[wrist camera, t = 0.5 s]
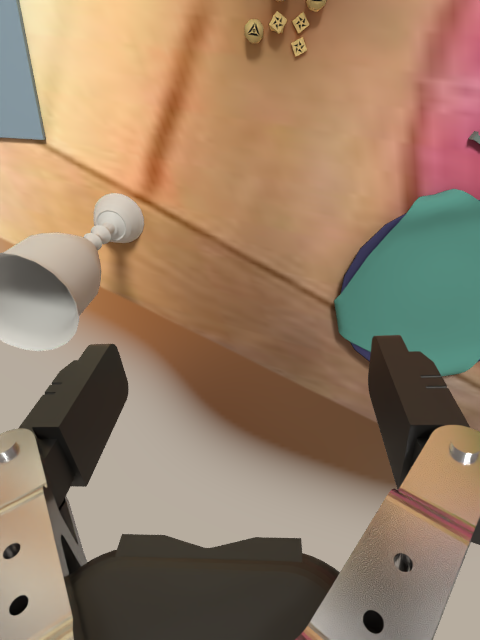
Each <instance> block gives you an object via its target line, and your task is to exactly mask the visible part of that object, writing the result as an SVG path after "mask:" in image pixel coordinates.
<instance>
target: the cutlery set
mask: <svg viewBox="0 0 480 640" xmlns="http://www.w3.org/2000/svg"><path fill="white" fill-rule="evenodd" d="M468 139H471V140H474V141H476V142H477V143H479V144H480V136H479V135H478V132H476V131H474V132H473V134H472V135H471V136H470V137H469V138H468ZM334 304H335V310H336V317H337V323H338V330H339V333H340V334H341V335H342V336H343V337H344V338H345V339H347V340H348V341H350V343H351V344H352V346H353V348H354V350H356V351H357V352H358V353H359V354H361V355H362V356H363V357H364V358H366V359H367V360H368V361H370V354H371V344H372V338H373V336H383V335H400V336H401V337H402V339H403V341H404V343H405V345H406V347H407V349H408V351H409V352H412V351H420V352H422V353H423V354H424V355H425V356H427V357H428V358H429V359H430V360H432V361H433V362H434V364H435V365H436V367H437V369H438V371H439V373H440V374H441V376H448V375H454V374H459V373H462V372H465V371H467V370H468V369H470V368H471V367H472V366H473V365H474V364H475V363H476V362H478V361H480V200H477V199H476V198H474V197H473V196H471V195H470V194H468V193H466V192H464V191H461V190H457V189H451V190H447V191H444V192H441V193H438V194H434V195H428V196H422V197H419V198H418V199H417V200H416V201H415V203H414V204H413V205H412V207H411V208H410V210H409V211H408V212H407V213H405V214H404V215H402V216H400V217H398V218H396V219H394V220H393V221H391V222H389V223H387V224H385V225H384V226H383V227H382V228H381V229H380V230H379V231H378V232H377V233H376V234H375V235H374V236H373V237H372V238H371V239H370V240H369V241H367V242H366V243H365V244H364V245H363V246H362V247H361V248H360V250H359V251H358V253H357V255H356V256H355V258H354V260H353V262H352V263H351V265H350V267H349V269H348V270H347V272H346V274H345V275H344V280H343V284H342V289H341V294H340V295H339V296H338V297H337V298H336V299H335V300H334Z"/></svg>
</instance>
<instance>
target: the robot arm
mask: <svg viewBox="0 0 480 640" xmlns="http://www.w3.org/2000/svg"><path fill="white" fill-rule="evenodd" d="M368 386H369V394H370V398H371V401H372V405H373V408H374V411H375V415H376V418H377V421H378V425H379V428H380V432H381V435H382V438H383V442H384V445H385V448H386V452H387V455H388V458H389V462H390V465H391V468H392V472H393V475H394V479H395V482H396V485H397V489H398V490H396V489H392V490H391V491H390V492H389V494H388V495H387V497H386V498H385V500H384V501H383V503H382V505H381V506H380V508H379V510H378V511H377V513H376V515H375V516H374V518H373V519H372V521H371V523H370V524H369V526H368V528H367V529H366V531H365V532H364V534H363V536H362V537H361V539H360V541H359V542H358V544H357V546H356V547H355V549H354V551H353V552H352V554H351V555H350V557H349V559H348V560H347V562H346V564H345V565H344V567H343V569H342V570H341V572H339V571H337V570H336V569H335V568H333V567H332V566H330V565H328V564H327V563H325V562H323V561H321V560H319V559H317V558H315V557H312V556H309V555H306V554H303V553H302V547H301V546H302V545H301V538H259V537H255V538H251V539H247V540H242V541H239V542H235V543H230V544H226V545H222V546H218V547H214V548H203V547H200V546H197V545H194V544H190V543H187V542H184V541H181V540H178V539H175V538H172V537H168V536H165V535H133V534H122V536H121V539H120V542H119V545H118V548H117V550H114V551H111V552H108V553H105V554H103V555H101V556H99V557H96V558H94V559H92V560H91V561H89V562H87V560H86V557H85V555H84V552H83V548H82V545H81V542H80V538H79V535H78V531H77V528H76V524H75V521H74V518H73V515H72V511H71V508H70V504H69V501H68V499H67V497H66V494H67V492H68V490H69V488H70V486H87V484H88V482H89V480H90V478H91V476H92V474H93V471H94V469H95V467H96V465H97V463H98V460H99V458H100V456H101V454H102V452H103V449H104V448H105V445H106V443H107V441H108V439H109V437H110V434H111V432H112V430H113V428H114V426H115V424H116V422H117V419H118V417H119V415H120V413H121V411H122V408H123V406H124V403H125V402H126V400H127V396H128V381H127V378H126V374H125V371H124V368H123V365H122V362H121V358H120V355H119V352H118V349H117V347H116V346H115V345H114V344H96V345H95V344H94V345H89V346H88V347H87V348H86V350H85V351H84V352H83V354H82V356H81V357H80V358H79V360H75V361H73V362H71V363H70V364H69V365H68V366H66V367H65V368H64V369H62V370H61V371H60V372H59V374H58V375H57V376H56V378H55V379H54V380H53V382H52V385H50V386H49V387H48V389H47V390H46V391H45V395H43V396H42V397H41V398H40V400H39V401H38V402H37V404H36V405H35V406H34V408H33V409H32V410H31V412H30V413H29V415H28V416H27V417H26V419H25V420H24V422H23V423H22V424H21V425H20V427H19V428H18V429H13V430H9V431H6V432H3V433H1V434H0V640H433V638H434V635H435V633H436V630H437V628H438V625H439V622H440V620H441V617H442V615H443V612H444V609H445V607H446V604H447V601H448V599H449V597H450V594H451V591H452V589H453V586H454V584H455V581H456V579H457V576H458V573H459V571H460V568H461V566H462V563H463V560H464V558H465V555H466V553H467V550H468V548H469V545H470V543H471V542H473V543H476V544H479V545H480V432H479V431H476V430H474V429H472V428H470V426H469V425H468V423H467V421H466V419H465V417H464V416H463V414H462V412H461V410H460V408H459V407H458V405H457V403H456V401H455V399H454V398H453V396H452V394H451V392H450V390H449V389H448V388H447V385H446V383H445V381H444V380H443V378H442V377H441V374H440V373H439V371H438V369H437V367H436V365H435V364H434V362H433V361H432V360H430V359H429V358H428V357H427V356H425V355H424V354H423V353H422V352H420V351H412V352H409V351H408V349H407V347H406V345H405V343H404V341H403V339H402V337H401V336H400V335H383V336H373V338H372V344H371V354H370V364H369V374H368Z"/></svg>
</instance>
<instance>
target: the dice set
mask: <svg viewBox="0 0 480 640" xmlns="http://www.w3.org/2000/svg"><path fill="white" fill-rule="evenodd" d="M276 1H284V0H276ZM306 4H307V6H308V8H309V10H310V11H314V12H318V11H319V10H320V9H321V8H322V7H324V5H325V4H326V0H306ZM286 22H287V19H286V17H283V16H282V15H281V14H280V13H279V12H278V11H277V12H276V13H275V15H273V18H272V20H271V22H270V23H269V26H270V27H271V30H270V31H275V32H277V33H278V34H280V33H283V28H284V26H285V24H286ZM292 23H293V25H294V27H295V28H296V30H297V32H298V34H299V33H300V32H302V31H303V30H304V29H305V28H306V27H308V26H309V25H310V24H309V22H308V20H307V18H306V16H305V14H304V12H302V13H301V14H300V15H299V16H297V17H296V18H295V19H294V20H293V21H292ZM245 37H246V38H247V39H248V41H249V42H250V43H258V42H259V41H260V40H261V39H262V38H263V25H262V24H261V23H260V21H259V20H258V19H250V20H249V21H248V23H247V24H246V25H245ZM291 45H292V48H293V51H294V54H295V57H296V56H298V55H300V54H302V53H304V52H305V51H307V48H306V45H305V42H304V39H303V37H302V38H300V39H298V40H296V41H294V42H293V43H291Z"/></svg>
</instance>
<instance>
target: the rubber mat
mask: <svg viewBox="0 0 480 640" xmlns="http://www.w3.org/2000/svg"><path fill="white" fill-rule="evenodd" d="M0 137H4V138H21V139H38V140H45V139H46V138H45V133H44V128H43V123H42V117H41V112H40V107H39V102H38V97H37V92H36V86H35V81H34V76H33V71H32V66H31V61H30V56H29V50H28V45H27V40H26V35H25V30H24V25H23V19H22V14H21V9H20V4H19V0H0Z"/></svg>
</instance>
